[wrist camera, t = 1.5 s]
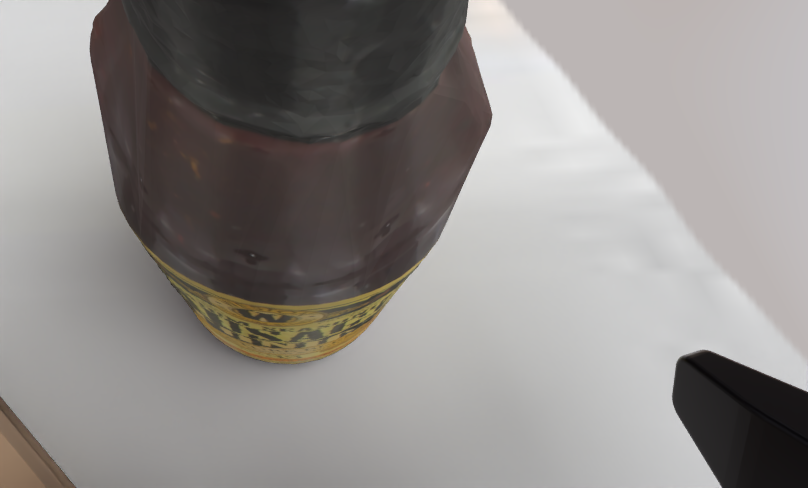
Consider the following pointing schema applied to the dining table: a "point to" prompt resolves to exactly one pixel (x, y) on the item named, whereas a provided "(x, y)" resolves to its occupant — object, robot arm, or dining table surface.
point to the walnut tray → (25, 457)
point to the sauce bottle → (288, 154)
